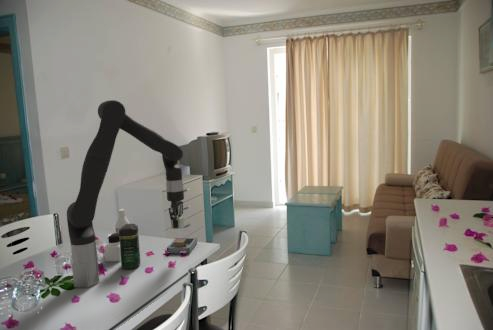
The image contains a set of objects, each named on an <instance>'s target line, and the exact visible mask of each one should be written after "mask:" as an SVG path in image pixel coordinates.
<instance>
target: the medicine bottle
mask: <svg viewBox="0 0 493 330" xmlns="http://www.w3.org/2000/svg"><path fill="white" fill-rule="evenodd" d="M106 237H107V238H106V239H107V245H105V246H104V247H103V248H104V257H105V262H106V263H107V262H109V263H110V262H121V251H120V239H119V233H116V232H113V233H110V234H108V235H107V236H106Z"/></svg>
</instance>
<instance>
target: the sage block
mask: <svg viewBox="0 0 493 330" xmlns="http://www.w3.org/2000/svg"><path fill="white" fill-rule="evenodd" d="M184 221H185V220H184V215H182V216H178V228H173V220H171V219H170V229H172V230H176V229H177V230H179V229H180V230H181V229H183V228H184V226H185V222H184Z"/></svg>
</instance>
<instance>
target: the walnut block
mask: <svg viewBox="0 0 493 330" xmlns="http://www.w3.org/2000/svg"><path fill="white" fill-rule="evenodd" d="M174 245H175V247H186V239H177V240H176V241H175V242H174Z"/></svg>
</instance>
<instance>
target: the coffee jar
mask: <svg viewBox="0 0 493 330" xmlns="http://www.w3.org/2000/svg"><path fill="white" fill-rule="evenodd" d="M139 236H140V235H139V226H138V225H137V224H135V223H130V224H125V225H124V226H122V227H121V228H120V230H119V239H120V251H121V261H120V262H121V263H120V264H121V268H122V269H125V270H132V269H137V268H138V267H140V265H141V254H140V253H141V252H140V239H139V238H140V237H139Z"/></svg>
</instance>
